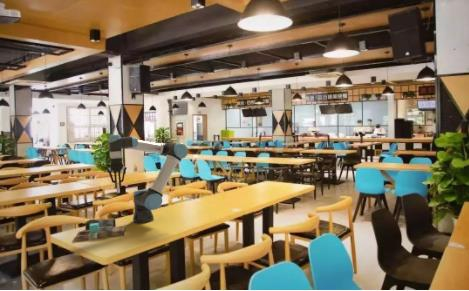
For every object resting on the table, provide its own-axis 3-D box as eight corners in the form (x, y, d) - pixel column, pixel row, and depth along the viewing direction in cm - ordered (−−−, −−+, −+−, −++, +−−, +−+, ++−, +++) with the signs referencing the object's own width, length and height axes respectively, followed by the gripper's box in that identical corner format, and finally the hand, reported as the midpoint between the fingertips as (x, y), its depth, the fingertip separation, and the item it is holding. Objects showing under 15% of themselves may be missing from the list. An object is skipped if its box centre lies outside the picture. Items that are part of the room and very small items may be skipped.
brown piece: (124, 230, 244) (123, 217, 244) (124, 235, 233) (123, 221, 232) (78, 235, 236) (77, 222, 236) (76, 241, 225) (74, 227, 224)
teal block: (99, 230, 236) (98, 222, 236) (98, 232, 231) (97, 224, 231) (91, 231, 235) (90, 223, 235) (90, 233, 230) (89, 225, 230)
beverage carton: (91, 227, 256) (90, 218, 256) (116, 227, 254) (115, 218, 254) (85, 231, 248) (84, 221, 248) (111, 230, 246) (110, 221, 246)
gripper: (126, 156, 245) (128, 190, 247) (106, 158, 242) (108, 192, 243) (126, 157, 238) (128, 192, 239) (105, 158, 235) (108, 194, 236)
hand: (118, 192), depth 241 cm, fingers closed
